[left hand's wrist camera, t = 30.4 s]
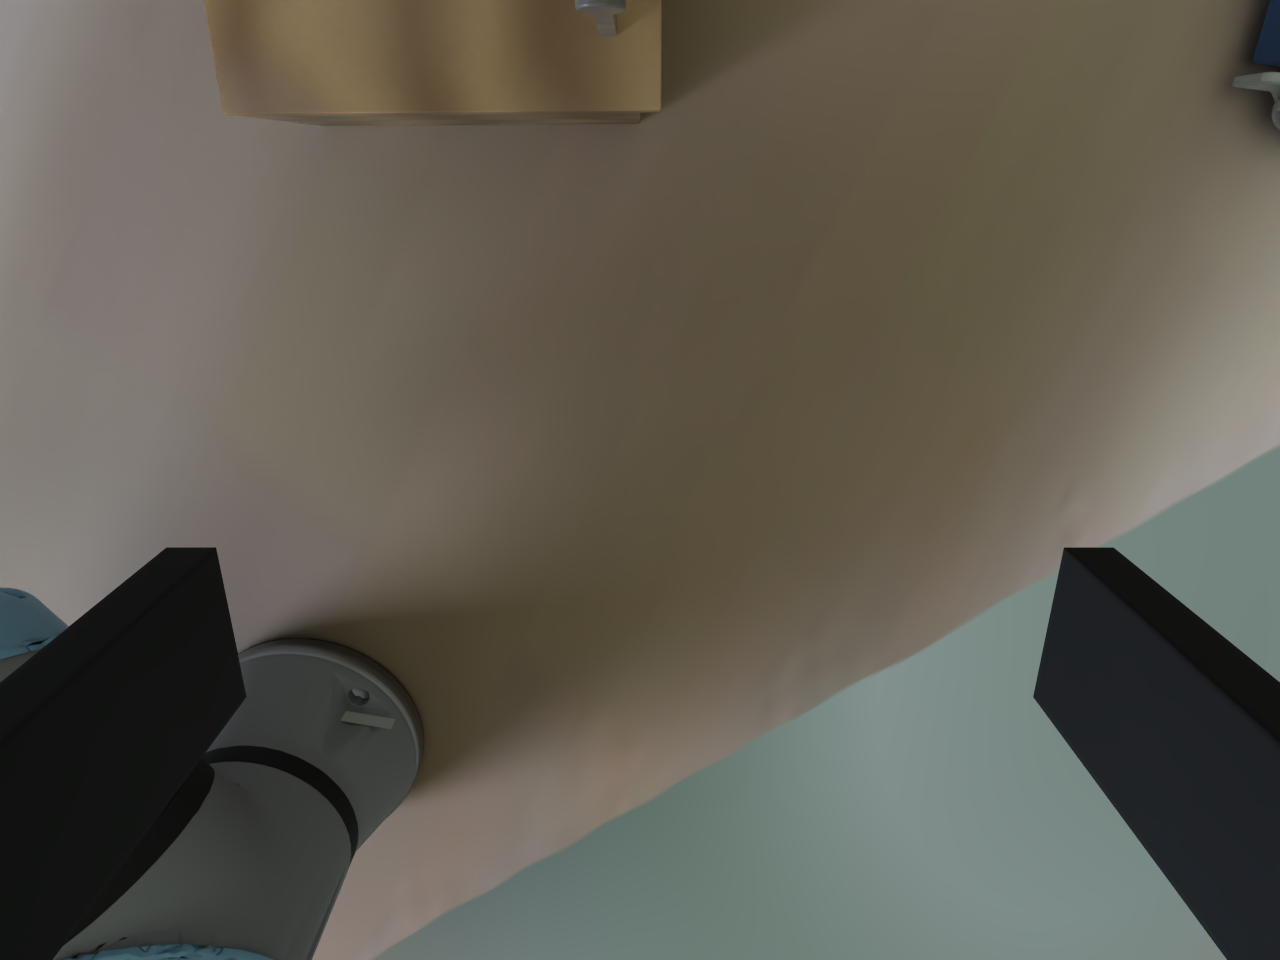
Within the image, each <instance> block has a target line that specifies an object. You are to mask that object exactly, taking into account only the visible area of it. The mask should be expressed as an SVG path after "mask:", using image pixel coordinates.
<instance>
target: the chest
mask: <svg viewBox="0 0 1280 960" xmlns="http://www.w3.org/2000/svg"><path fill="white" fill-rule="evenodd" d="M244 117H253V118H261V119H269V120H278V121H286V122H295V123H303V124H311V125H320V126H364V125H499V124H635V123H640V122H641V113H531V114H395V115H258V116H244Z"/></svg>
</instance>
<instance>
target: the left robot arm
mask: <svg viewBox="0 0 1280 960" xmlns="http://www.w3.org/2000/svg"><path fill="white" fill-rule="evenodd" d="M1033 697H1034V699H1035V700H1036V701H1037V703H1038V704H1039V705H1040V707H1041V708H1042V709H1043V711H1044V712H1045V713H1046V715H1047V716H1048V717H1049V719H1050V720H1051V722H1052V723H1053V724H1054V726H1055V727H1056V728H1057V730H1058V731H1059V732H1060V734H1061V735H1062V736H1063V738H1064V739H1065V741H1066V742H1067V743H1068V745H1069V746H1070V747H1071V749H1072V750H1073V751H1074V753H1075V754H1076V755H1077V757H1078V758H1079V759H1080V761H1081V762H1082V764H1083V765H1084V766H1085V768H1086V769H1087V770H1088V772H1089V773H1090V774H1091V776H1092V777H1093V779H1094V780H1095V781H1096V783H1097V784H1098V785H1099V787H1100V788H1101V789H1102V791H1103V792H1104V793H1105V795H1106V796H1107V798H1108V799H1109V800H1110V802H1111V803H1112V804H1113V806H1114V807H1115V808H1116V810H1117V811H1118V812H1119V814H1120V815H1121V816H1122V818H1123V819H1124V821H1125V822H1126V823H1127V825H1128V826H1129V827H1130V829H1131V830H1132V831H1133V833H1134V834H1135V835H1136V837H1137V838H1138V840H1139V841H1140V842H1141V844H1142V845H1143V846H1144V848H1145V849H1146V850H1147V852H1148V853H1149V854H1150V856H1151V857H1152V858H1153V860H1154V861H1155V863H1156V864H1157V865H1158V867H1159V868H1160V869H1161V871H1162V872H1163V873H1164V875H1165V876H1166V877H1167V879H1168V880H1169V882H1170V883H1171V884H1172V886H1173V887H1174V888H1175V890H1176V891H1177V892H1178V894H1179V895H1180V896H1181V898H1182V899H1183V901H1184V902H1185V903H1186V905H1187V906H1188V907H1189V909H1190V910H1191V911H1192V913H1193V914H1194V915H1195V917H1196V918H1197V920H1198V921H1199V922H1200V924H1201V925H1202V926H1203V928H1204V929H1205V930H1206V932H1207V933H1208V934H1209V936H1210V937H1211V938H1212V940H1213V941H1214V943H1215V944H1216V945H1217V947H1218V948H1219V949H1220V951H1221V952H1222V953H1223V955H1224V956H1225V957H1226V959H1227V960H1280V682H1279V681H1277V680H1276V679H1275V678H1274V677H1272V676H1271V675H1270V674H1269V673H1267V672H1266V671H1265V670H1264V669H1263V668H1261V667H1260V666H1259V665H1258V664H1256V663H1255V662H1254V661H1253V660H1251V659H1250V658H1249V657H1248V656H1247V655H1245V654H1244V653H1243V652H1242V651H1240V650H1239V649H1238V648H1237V647H1235V646H1234V645H1233V644H1232V643H1230V642H1229V641H1228V640H1227V639H1226V638H1224V637H1223V636H1222V635H1221V634H1219V633H1218V632H1217V631H1216V630H1214V629H1213V628H1212V627H1211V626H1210V625H1208V624H1207V623H1206V622H1205V621H1203V620H1202V619H1201V618H1200V617H1198V616H1197V615H1196V614H1195V613H1193V612H1192V611H1191V610H1190V609H1189V608H1187V607H1186V606H1185V605H1184V604H1182V603H1181V602H1180V601H1179V600H1177V599H1176V598H1175V597H1174V596H1173V595H1171V594H1170V593H1169V592H1168V591H1166V590H1165V589H1164V588H1163V587H1161V586H1160V585H1159V584H1158V583H1156V582H1155V581H1154V580H1153V579H1152V578H1150V577H1149V576H1148V575H1147V574H1145V573H1144V572H1143V571H1142V570H1140V569H1139V568H1138V567H1137V566H1135V565H1134V564H1133V563H1132V562H1130V561H1129V560H1128V559H1127V558H1126V557H1124V556H1123V555H1122V554H1121V553H1119V552H1118V551H1117V550H1116V549H1115V548H1064V550H1063V555H1062V560H1061V565H1060V570H1059V575H1058V579H1057V584H1056V589H1055V594H1054V599H1053V604H1052V609H1051V614H1050V618H1049V623H1048V628H1047V633H1046V638H1045V643H1044V648H1043V652H1042V657H1041V662H1040V667H1039V672H1038V677H1037V682H1036V686H1035V691H1034V696H1033ZM422 753H423V730H422V725H421V721H420V718H419V715H418V712H417V710H416V708H415V705H414V703H413V702H412V700H411V698H410V697H409V695H408V694H407V692H406V691H405V690H404V688H403V687H402V686H401V685H400V684H399V682H398V681H397V680H396V679H395V678H394V677H393V676H392V675H391V674H390V673H389V672H387V671H386V670H385V669H384V668H382V667H381V666H380V665H378V664H377V663H375V662H374V661H372V660H371V659H369V658H367V657H365V656H364V655H362V654H360V653H358V652H355V651H353V650H351V649H349V648H346V647H343V646H340V645H337V644H333V643H329V642H325V641H319V640H311V639H282V640H276V641H270V642H266V643H262V644H259V645H257V646H254V647H251V648H249V649H247V650H245V651H243V652H241V653H240V654H238V652H237V648H236V643H235V638H234V633H233V628H232V623H231V618H230V614H229V609H228V604H227V599H226V594H225V589H224V584H223V579H222V575H221V570H220V565H219V560H218V555H217V550H216V548H165V549H164V550H163V551H162V552H161V553H159V554H158V555H157V556H156V557H154V558H153V559H152V560H151V561H149V562H148V563H147V564H146V565H144V566H143V567H142V568H141V569H140V570H138V571H137V572H136V573H135V574H133V575H132V576H131V577H130V578H128V579H127V580H126V581H125V582H124V583H122V584H121V585H120V586H119V587H117V588H116V589H115V590H114V591H112V592H111V593H110V594H109V595H107V596H106V597H105V598H104V599H103V600H101V601H100V602H99V603H98V604H96V605H95V606H94V607H93V608H91V609H90V610H89V611H88V612H87V613H85V614H84V615H83V616H82V617H80V618H79V619H78V620H77V621H75V622H74V623H73V624H72V625H70V626H67V625H66V624H65V623H64V622H63V621H62V620H61V619H60V618H58V617H57V616H56V615H55V614H54V613H53V612H52V611H50V610H49V609H48V608H47V607H46V606H45V605H44V604H43V603H41V602H40V601H39V600H38V599H37V598H36V597H34V596H33V595H31V594H29V593H27V592H25V591H22V590H18V589H13V588H0V960H312V958H313V955H314V953H315V950H316V948H317V946H318V943H319V941H320V938H321V936H322V933H323V931H324V928H325V926H326V923H327V921H328V918H329V916H330V913H331V911H332V909H333V906H334V904H335V901H336V899H337V896H338V894H339V891H340V889H341V886H342V884H343V881H344V879H345V876H346V874H347V871H348V868H349V866H350V864H351V861H352V859H353V856H354V854H355V852H356V851H357V850H358V848H359V847H360V846H361V845H362V844H363V843H364V842H365V841H366V840H367V839H368V838H369V836H370V835H371V834H372V833H373V832H374V831H375V830H376V829H377V828H378V826H379V825H380V824H381V823H382V822H383V821H384V820H385V819H386V818H387V817H388V816H389V815H390V814H391V813H392V812H393V811H394V810H395V809H396V808H397V807H398V806H399V805H400V804H401V803H402V801H403V800H404V799H405V797H406V796H407V794H408V792H409V791H410V789H411V786H412V784H413V781H414V779H415V776H416V773H417V770H418V768H419V765H420V762H421V758H422Z"/></svg>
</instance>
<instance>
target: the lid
mask: <svg viewBox="0 0 1280 960" xmlns="http://www.w3.org/2000/svg"><path fill="white" fill-rule="evenodd" d="M204 5H205V11H206V17H207V23H208V28H209V34H210V40H211V46H212V51H213V57H214V63H215V69H216V75H217V80H218V86H219V92H220V98H221V103H222V109H223V113H224V114H228V115H236V116H258V115H395V114H531V113H660V112H661V109H662V0H204Z"/></svg>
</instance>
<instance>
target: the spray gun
mask: <svg viewBox="0 0 1280 960" xmlns="http://www.w3.org/2000/svg"><path fill="white" fill-rule="evenodd" d="M1253 61H1254V64H1260V65H1267V66H1274V67H1280V0H1270V3H1269V6H1268V9H1267V13H1266V16H1265V19H1264V23H1263V26H1262V29H1261V33H1260V36H1259V39H1258V43H1257V46H1256V49H1255V53H1254V56H1253ZM1232 86H1233V87H1236V88H1244V89H1253V90H1261V91H1269V92H1270V93H1271V94H1272V96H1273V99H1274V101H1275V104H1274V106H1273V108H1272V115H1271V116H1272V120H1273V123H1274V125H1275V126H1276V127H1277V128H1278V129H1279V130H1280V72H1263V73H1256V74H1250V75H1243V76H1237V77H1235V78H1234V79H1233V83H1232Z"/></svg>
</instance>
